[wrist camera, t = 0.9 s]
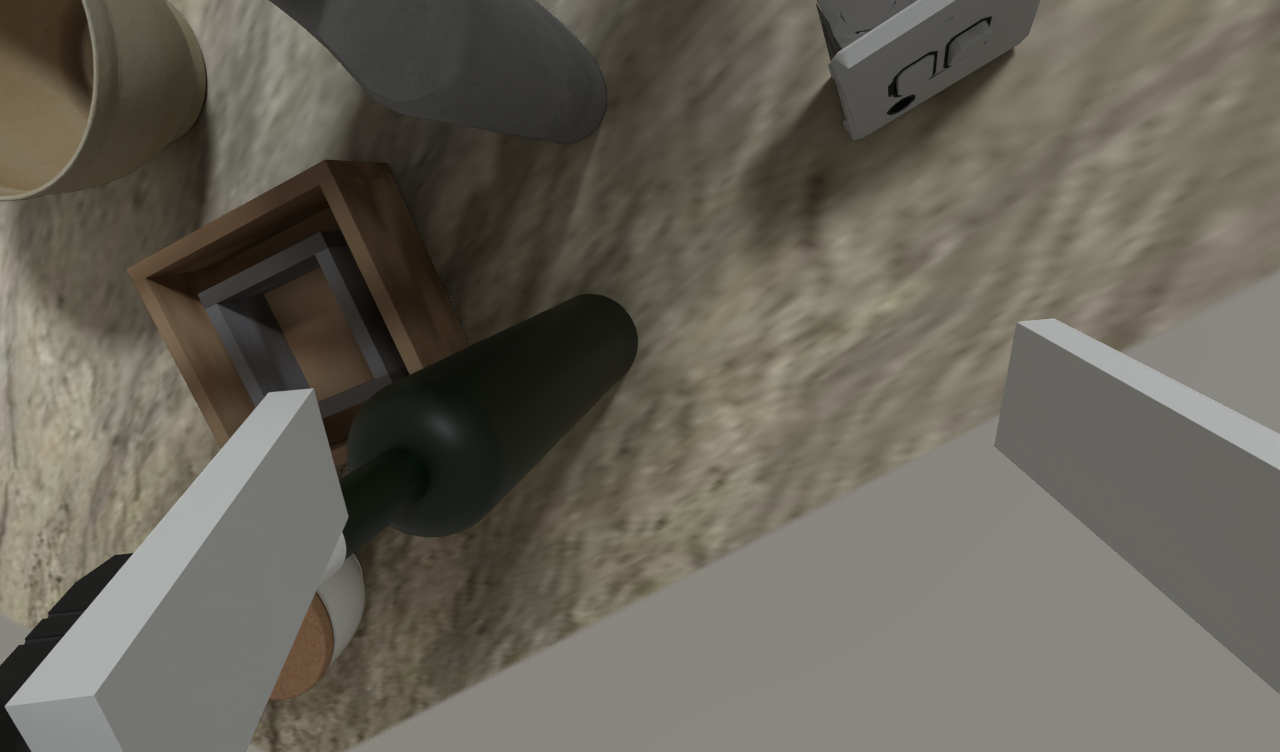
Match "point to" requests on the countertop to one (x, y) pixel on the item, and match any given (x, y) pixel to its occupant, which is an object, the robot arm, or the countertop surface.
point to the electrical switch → (912, 50)
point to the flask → (464, 62)
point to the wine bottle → (477, 422)
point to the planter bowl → (91, 90)
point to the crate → (302, 299)
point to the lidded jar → (324, 630)
